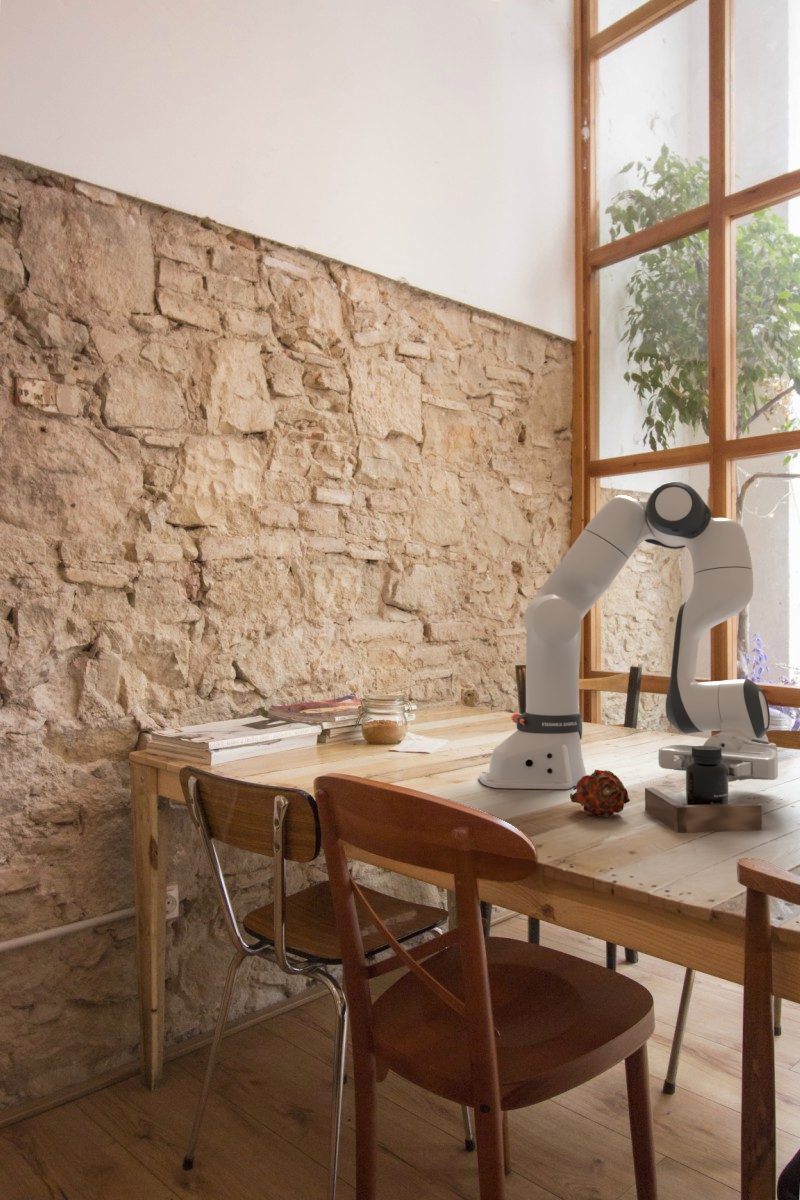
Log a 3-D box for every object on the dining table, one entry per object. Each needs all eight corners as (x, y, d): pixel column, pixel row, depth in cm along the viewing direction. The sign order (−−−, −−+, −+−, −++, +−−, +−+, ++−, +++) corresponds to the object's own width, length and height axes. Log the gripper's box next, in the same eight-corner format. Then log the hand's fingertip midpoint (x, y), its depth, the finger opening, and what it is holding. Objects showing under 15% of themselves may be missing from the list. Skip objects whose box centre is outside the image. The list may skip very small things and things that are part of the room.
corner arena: (677, 832, 138) (677, 807, 138) (645, 810, 153) (644, 787, 153) (761, 830, 139) (761, 805, 139) (721, 808, 154) (721, 785, 154)
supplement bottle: (725, 825, 141) (723, 752, 141) (682, 820, 144) (680, 749, 144) (732, 816, 147) (730, 745, 147) (691, 811, 150) (689, 743, 150)
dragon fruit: (621, 833, 144) (579, 827, 155) (650, 798, 148) (607, 795, 158) (592, 794, 143) (552, 791, 154) (622, 760, 147) (581, 759, 157)
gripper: (671, 734, 165) (645, 744, 154) (785, 744, 153) (766, 755, 142) (672, 767, 165) (646, 779, 154) (786, 779, 153) (766, 794, 141)
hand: (704, 768), depth 147 cm, fingers open, 8 cm apart
